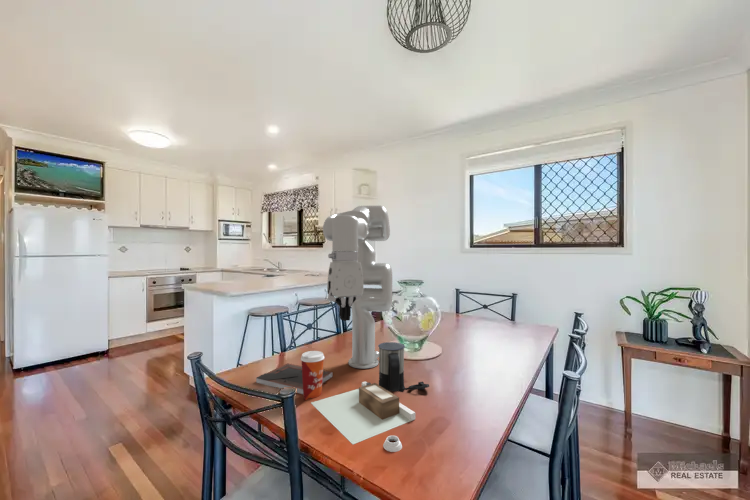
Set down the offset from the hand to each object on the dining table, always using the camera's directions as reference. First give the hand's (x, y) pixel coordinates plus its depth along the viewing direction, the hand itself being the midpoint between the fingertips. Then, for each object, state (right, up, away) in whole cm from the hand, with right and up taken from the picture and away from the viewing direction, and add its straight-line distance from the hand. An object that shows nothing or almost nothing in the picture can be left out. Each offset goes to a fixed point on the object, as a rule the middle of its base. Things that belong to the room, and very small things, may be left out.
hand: (344, 319), depth 93 cm
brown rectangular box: (+10, -26, 0) cm, 28 cm away
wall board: (+5, -27, -2) cm, 28 cm away
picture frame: (-20, -28, +23) cm, 42 cm away
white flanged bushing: (+13, -28, -18) cm, 35 cm away
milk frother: (+19, -28, +15) cm, 36 cm away
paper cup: (-11, -27, +9) cm, 31 cm away
